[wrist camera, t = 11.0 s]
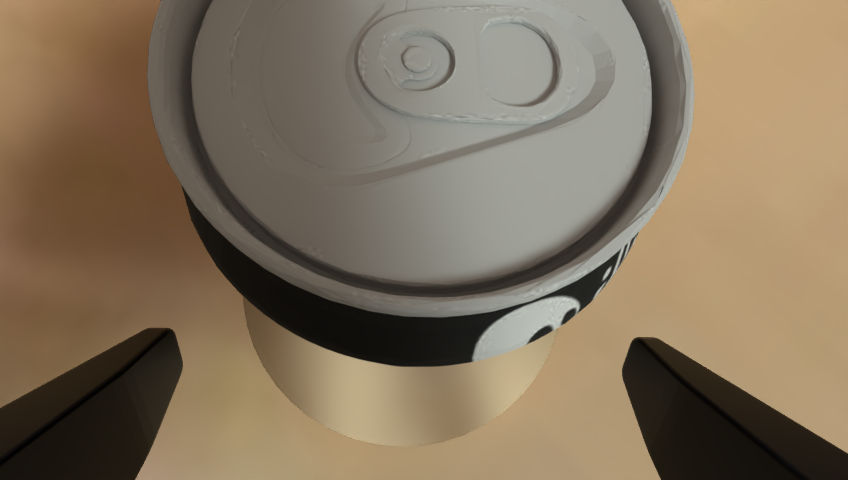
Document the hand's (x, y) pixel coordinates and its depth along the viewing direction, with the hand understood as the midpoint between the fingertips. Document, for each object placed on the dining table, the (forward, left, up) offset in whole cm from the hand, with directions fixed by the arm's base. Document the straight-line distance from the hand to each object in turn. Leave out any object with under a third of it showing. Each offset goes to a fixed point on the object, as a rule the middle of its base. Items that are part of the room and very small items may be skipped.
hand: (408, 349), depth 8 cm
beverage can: (+1, +3, -7) cm, 8 cm away
